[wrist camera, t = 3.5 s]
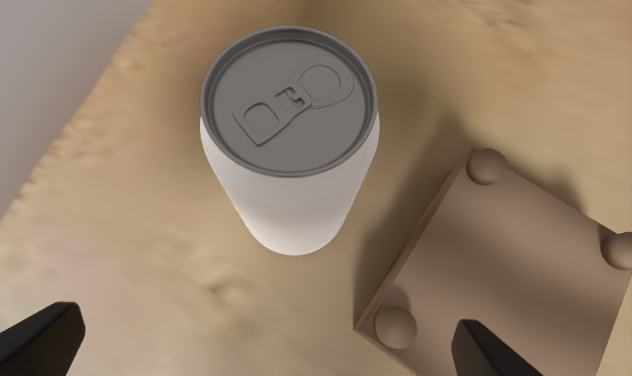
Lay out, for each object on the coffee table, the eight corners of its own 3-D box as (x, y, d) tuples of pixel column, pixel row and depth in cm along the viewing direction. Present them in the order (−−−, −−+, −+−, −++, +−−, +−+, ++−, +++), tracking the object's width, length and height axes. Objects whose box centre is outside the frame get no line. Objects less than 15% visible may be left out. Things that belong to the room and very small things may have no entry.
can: (366, 215, 22) (434, 112, 11) (284, 279, 21) (265, 236, 9) (304, 142, 24) (308, -13, 13) (223, 196, 22) (145, 76, 11)
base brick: (513, 447, 18) (577, 487, 14) (353, 329, 20) (367, 332, 16) (590, 258, 22) (659, 244, 18) (449, 171, 24) (482, 140, 19)
